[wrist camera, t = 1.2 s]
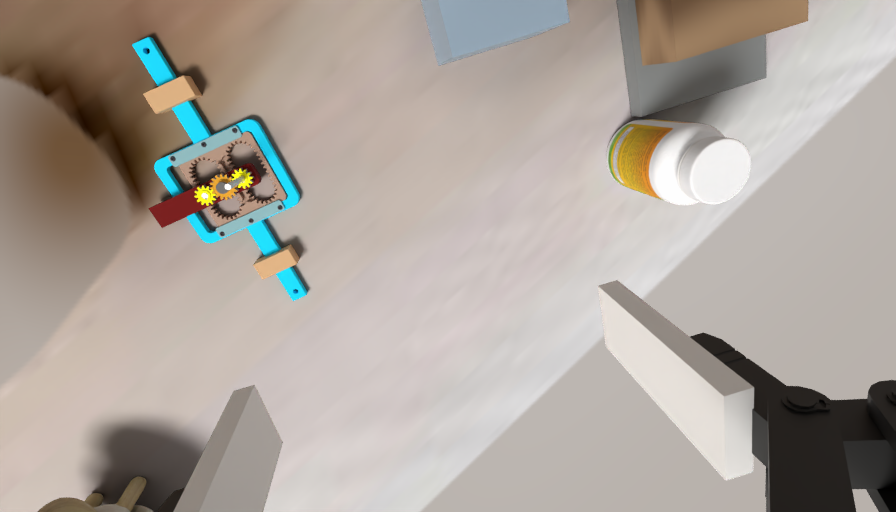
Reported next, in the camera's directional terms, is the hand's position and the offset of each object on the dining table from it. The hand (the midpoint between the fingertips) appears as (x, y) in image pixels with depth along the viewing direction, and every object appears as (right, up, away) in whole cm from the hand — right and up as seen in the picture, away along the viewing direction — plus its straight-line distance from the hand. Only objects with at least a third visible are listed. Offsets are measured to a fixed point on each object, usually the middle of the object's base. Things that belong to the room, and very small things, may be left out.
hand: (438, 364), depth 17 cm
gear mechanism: (-16, +9, +17) cm, 25 cm away
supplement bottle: (+15, +12, +19) cm, 28 cm away
